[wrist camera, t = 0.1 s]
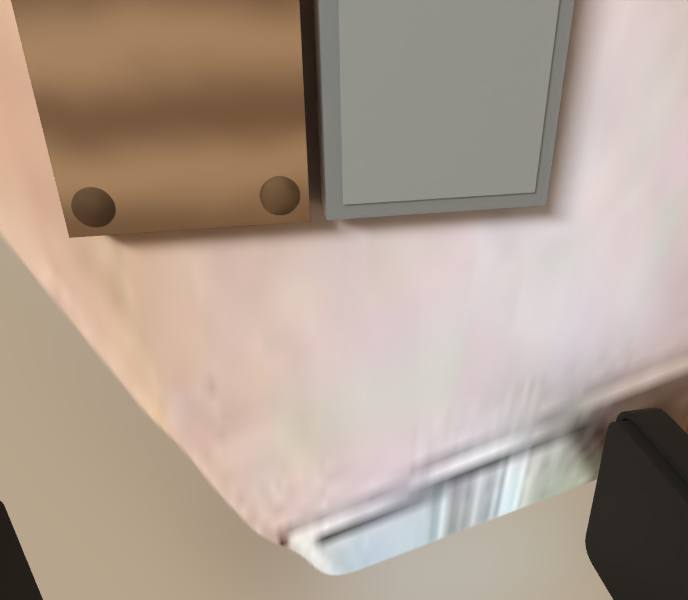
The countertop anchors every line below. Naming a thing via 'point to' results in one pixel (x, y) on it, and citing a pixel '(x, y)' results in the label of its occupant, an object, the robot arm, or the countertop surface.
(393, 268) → the countertop surface
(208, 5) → the walnut stand
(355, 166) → the slate stand
